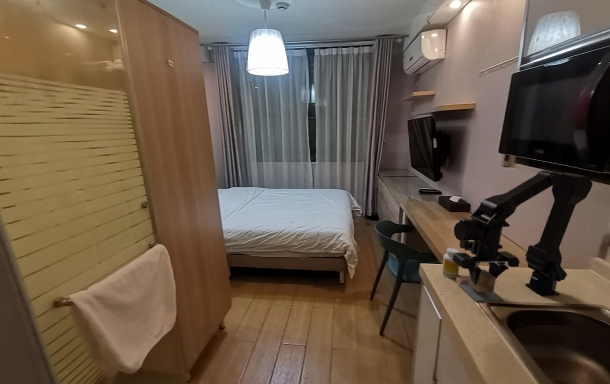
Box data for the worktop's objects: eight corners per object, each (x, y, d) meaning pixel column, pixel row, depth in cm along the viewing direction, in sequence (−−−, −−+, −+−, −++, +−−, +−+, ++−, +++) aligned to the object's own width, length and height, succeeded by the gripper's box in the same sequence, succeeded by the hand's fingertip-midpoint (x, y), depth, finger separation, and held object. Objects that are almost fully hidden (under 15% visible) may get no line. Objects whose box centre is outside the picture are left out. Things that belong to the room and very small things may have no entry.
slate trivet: (482, 284, 96) (483, 283, 95) (503, 300, 87) (503, 299, 87) (458, 285, 95) (458, 284, 95) (476, 302, 86) (476, 300, 86)
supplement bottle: (459, 278, 99) (463, 254, 97) (443, 277, 100) (447, 252, 98) (455, 271, 104) (458, 247, 102) (439, 269, 105) (442, 246, 103)
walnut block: (482, 283, 93) (484, 269, 92) (493, 291, 88) (495, 277, 87) (468, 283, 93) (470, 270, 91) (478, 292, 88) (481, 278, 87)
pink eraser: (468, 280, 99) (469, 275, 98) (472, 283, 97) (473, 278, 96) (455, 282, 98) (456, 277, 97) (459, 285, 96) (460, 280, 95)
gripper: (497, 229, 95) (490, 269, 99) (445, 230, 93) (440, 271, 97) (525, 242, 84) (515, 287, 88) (467, 244, 83) (460, 290, 86)
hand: (481, 283), depth 90 cm, fingers closed on walnut block, 5 cm apart
